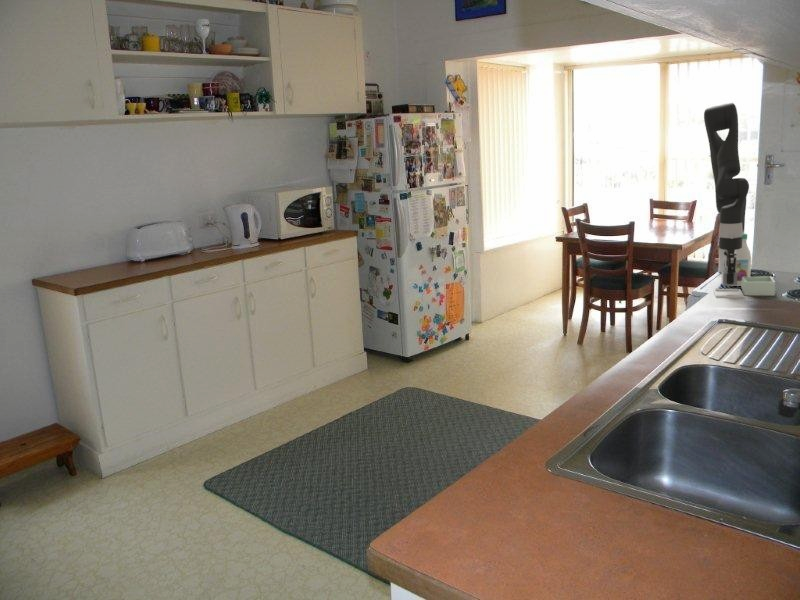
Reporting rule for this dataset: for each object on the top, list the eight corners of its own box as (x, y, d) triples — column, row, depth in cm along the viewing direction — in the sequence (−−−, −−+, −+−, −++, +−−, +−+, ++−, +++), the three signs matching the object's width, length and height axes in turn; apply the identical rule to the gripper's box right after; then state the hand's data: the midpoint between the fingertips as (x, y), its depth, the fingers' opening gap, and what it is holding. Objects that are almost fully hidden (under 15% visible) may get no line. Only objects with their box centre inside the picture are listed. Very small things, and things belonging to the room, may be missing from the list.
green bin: (741, 290, 256) (741, 276, 255) (770, 290, 253) (771, 276, 252) (744, 296, 247) (745, 282, 246) (774, 296, 244) (775, 282, 243)
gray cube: (721, 282, 253) (721, 270, 252) (735, 282, 251) (735, 270, 250) (722, 285, 249) (723, 273, 248) (737, 285, 247) (737, 273, 246)
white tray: (713, 292, 257) (713, 288, 257) (739, 292, 254) (740, 288, 254) (715, 298, 247) (715, 295, 247) (743, 299, 244) (743, 295, 244)
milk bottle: (733, 283, 269) (734, 232, 264) (753, 285, 263) (755, 233, 258) (723, 287, 264) (725, 234, 259) (744, 289, 258) (746, 236, 253)
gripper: (717, 232, 254) (716, 277, 258) (721, 238, 241) (719, 286, 245) (739, 231, 251) (738, 277, 255) (745, 238, 238) (743, 286, 242)
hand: (729, 281), depth 250 cm, fingers closed on gray cube, 4 cm apart
